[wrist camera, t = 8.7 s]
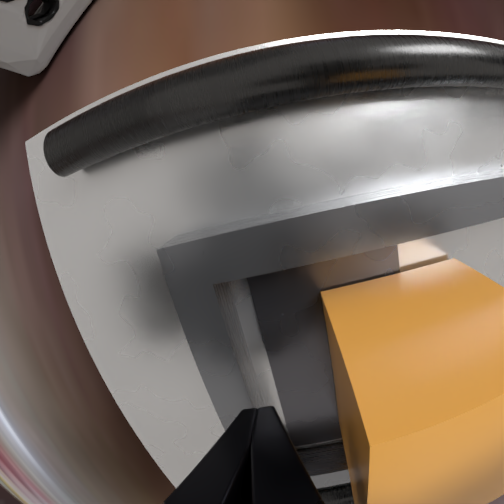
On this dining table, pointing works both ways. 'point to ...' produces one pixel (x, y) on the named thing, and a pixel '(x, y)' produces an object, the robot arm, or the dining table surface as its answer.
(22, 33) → the electrical switch
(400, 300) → the orange cube block
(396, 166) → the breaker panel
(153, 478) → the dining table surface
